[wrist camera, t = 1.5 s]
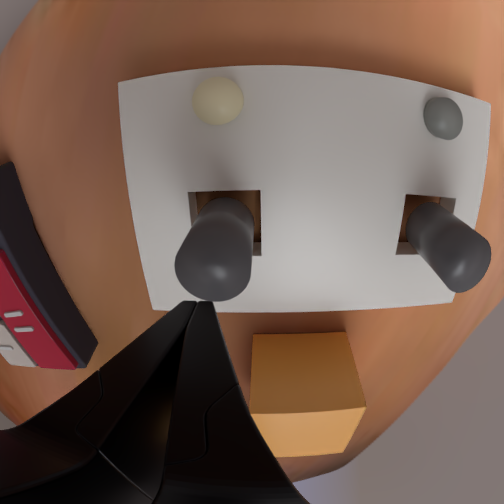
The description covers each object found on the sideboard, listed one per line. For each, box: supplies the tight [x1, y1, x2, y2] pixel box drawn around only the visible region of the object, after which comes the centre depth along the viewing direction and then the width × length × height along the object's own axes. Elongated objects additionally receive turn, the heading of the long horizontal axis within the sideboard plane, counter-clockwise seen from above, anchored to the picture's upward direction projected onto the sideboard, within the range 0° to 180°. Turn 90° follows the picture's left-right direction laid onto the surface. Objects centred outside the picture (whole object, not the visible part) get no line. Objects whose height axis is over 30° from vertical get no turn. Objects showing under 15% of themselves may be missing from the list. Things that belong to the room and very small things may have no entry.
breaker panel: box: [118, 65, 491, 312], centre depth 13 cm, size 12×18×2 cm, turn 92°
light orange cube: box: [249, 332, 367, 457], centre depth 17 cm, size 6×6×6 cm
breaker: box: [406, 202, 491, 293], centre depth 11 cm, size 3×3×4 cm
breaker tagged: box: [174, 197, 254, 302], centre depth 12 cm, size 3×3×4 cm
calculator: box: [0, 162, 98, 370], centre depth 16 cm, size 11×4×15 cm
